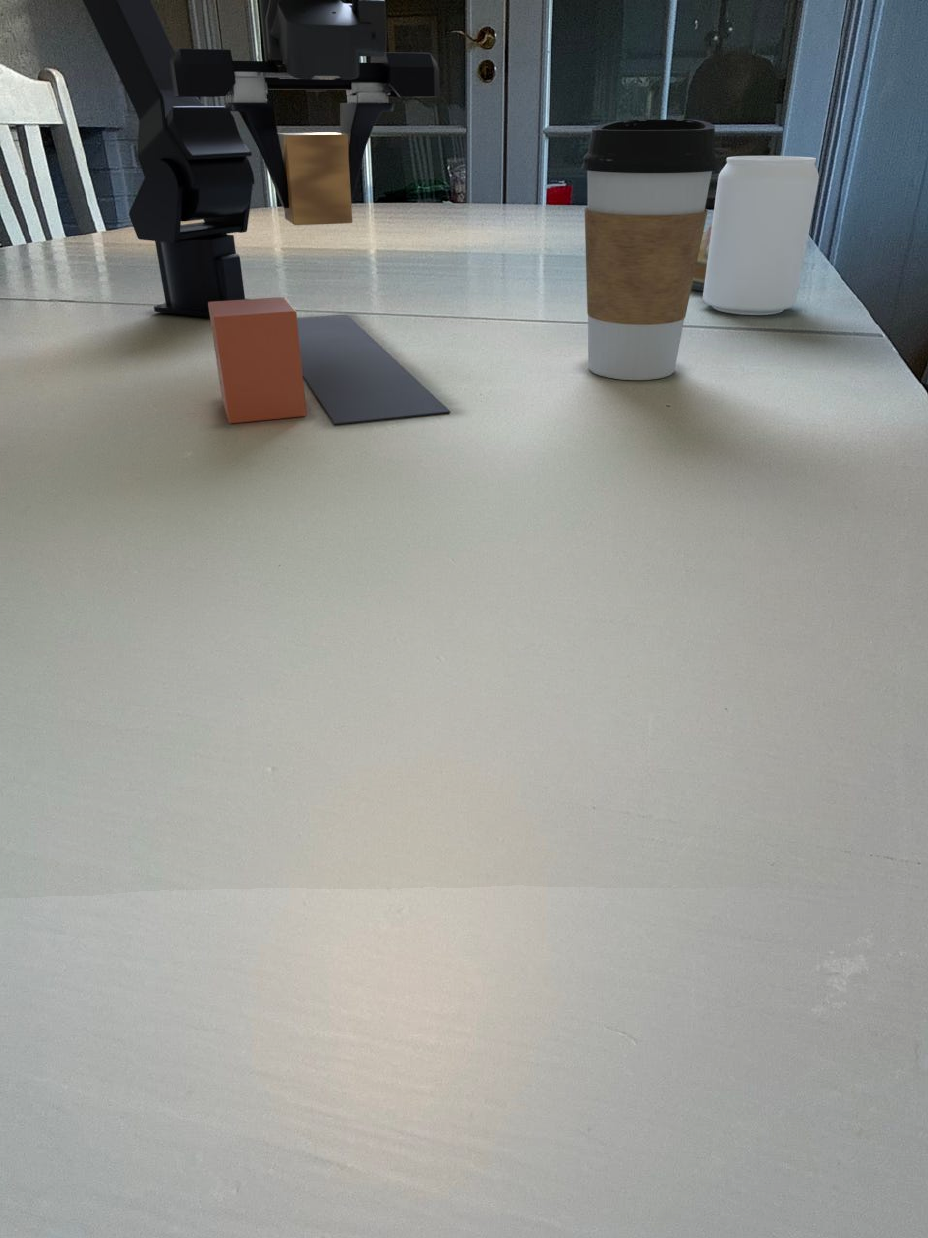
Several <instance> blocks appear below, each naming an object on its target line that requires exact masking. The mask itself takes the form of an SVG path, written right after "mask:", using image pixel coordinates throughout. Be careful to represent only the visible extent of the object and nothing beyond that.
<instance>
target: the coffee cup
mask: <svg viewBox="0 0 928 1238" xmlns="http://www.w3.org/2000/svg"><path fill="white" fill-rule="evenodd" d="M715 138H716V126H715V124H713V123H711V122H710V121H709V122H708V121H704V120H699V119H685V118H683V119H682V118H679V119H678V118H677V119H676V118H675V119H673V118H672V119H671V118H661V119H660V118H659V119H657V118H656V119H654V118H653V119H651V118H650V119H645V118H644V119H626V120H625V119H624V120H618V121H612V122H607V123H603V124H600V125H596V126H594V127H593V128H592V130H591V133H590V139H589V144H588V149H587V153H586V154H584V155H583V157H582V160H583V161H582V165H581V170H582V171H586V174H587V175H586V176H587V177H586V179H587V207H585V208H584V237H585V238H584V239H585V241H584V242H585V243H584V244H585V277H586V315H587V355H588V356H587V366H588V369H589V371H590V372H591V373H593V374H595V375H598V376H600V377H605V378H608V379H614V380H622V381H650V380H652V381H653V380H658V379H663V378H666V377H669V376H672V374H674V372H675V369H676V365H677V361H678V360H677V359H678V356H679V355H678V354H679V349H680V342H681V338H682V332H683V327H684V322H685V318H686V315H687V311H688V306H689V301H690V296H691V292H692V289H691V287H692V283H693V278H694V273H695V269H696V264H697V259H698V254H699V250H700V245H701V240H702V236H703V232H705V231H704V230H705V226H706V222H707V221H706V220H707V216H708V212H709V210H708V209H707V208H706V206H707V200H708V194H709V189H710V184H711V179H712V173H713V172H716V171H719V169H720V168H719V156H718V154H717V153H716V139H715Z"/></svg>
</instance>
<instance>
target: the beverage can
mask: <svg viewBox="0 0 928 1238" xmlns="http://www.w3.org/2000/svg"><path fill="white" fill-rule="evenodd" d="M725 161H726V164H725V165H724V167H723V168H722V169H721V170H720V172H719V173H718V177H717V182H716V183H717V184H716V185H717V186H716V190H715V192H716V193H715V198H714V199H715V200H714V206H713V207H714V208H713V215H712V222H711V224H712V230H711V237H710V245H709V253H708V261H707V268H706V276H705V284H704V291H702V300H703V302H704V303H706V304H707V305H709V306H711V307H712V308H713V309H714V310H717V311H718V312H723V313H727V314H733V315H744V316H746V315H747V316H770V315H777V314H780V313H782V312H784V310H787V309H791V308H793V307H794V306H795V305H796V304H797V301H798V297H799V291H800V286H801V279H802V273H803V269H804V263H805V256H806V253H807V246H808V240H809V235H810V230H811V224H812V219H813V213H814V208H815V202H816V197H817V192H818V185H819V179H820V175H819V171H818V169H817V167H816V165H815V163H816V162H817V158H816V157H811V156H795V155H794V156H793V155H738V156H737V155H735V156H728V157H726V160H725Z"/></svg>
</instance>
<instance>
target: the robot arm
mask: <svg viewBox="0 0 928 1238" xmlns="http://www.w3.org/2000/svg"><path fill="white" fill-rule="evenodd" d="M258 1H259V2H258V3H259V13H260V24H261V33H262V43H263V53H264V60H233V56H232V50H231V49H229V48H225V49H222V48H179V49H178V50H177V51H175V49H174V48H173V45H172V43H171V41H170V38H169V37H168V34H167V32H166V30H165V28H164V26H163V23H162V21H161V19H160V17H159V14H158V13H157V10H156V8H155V6H154V4H153V1H152V0H82V2H83V4H84V6H85V9H86V11H87V12H88V15H89V17H90V19H91V21H92V23H93V25H94V27H95V29H96V31H97V34H98V35H99V37H100V39H101V41H102V44H103V46H104V48H105V50H106V52H107V55H108V57H109V59H110V60H111V63H112V65H113V66H114V69H115V72H116V73H117V75H118V77H119V80H120V82H121V84H122V86H123V88H124V90H125V92H126V94H127V96H128V98H129V100H130V103H131V105H132V107H133V108H134V110H135V113H136V115H137V118H138V134H137V148H136V149H137V152H136V156H137V160H138V164H139V166H140V169H141V171H142V174H143V176H144V179H143V181H142V182H141V185H140V187H139V189H138V191H137V194H136V196H135V199H134V201H133V202H132V205H131V207H130V210H129V211H128V217H129V221H130V222H131V224H132V227H133V229H134V232H135V235H136V237H137V239H138V240H140V241H152V242H154V244H155V250H156V256H157V261H158V267H159V273H160V278H161V279H160V280H161V284H162V290H163V297H164V303H161V304H157V305H154V306H153V310H154V312H155V313H164V314H173V315H183V316H193V317H201V318H210V314H209V307H208V302H215V301H230V300H246V299H247V298H246V295H245V288H244V280H243V271H242V270H243V269H242V262H241V257H240V254H239V253H237V251H236V243H235V242H236V241H235V235H234V234H235V233H238V234H239V233H240V234H242V233H247V232H248V228H249V226H248V225H249V219H250V211H251V203H252V194H253V187H254V185H255V177H254V175H255V174H254V171H253V168H252V164H251V162H250V161H249V157H252V155H253V153H252V151H251V150H250V149H249V148H248V146H247V145H246V143H245V141H244V140H243V138H242V137H241V134H240V132H239V130H238V126H237V123H236V120H235V117H234V115H233V114H232V112H238V113H239V115H240V116H241V118H242V120H243V122H244V125H245V126H246V128H247V129H248V131H249V133H250V135H251V137H252V139H253V141H254V143H255V145H256V146H257V148H258V151H259V153H260V154H261V157H262V160H263V162H264V164H265V167H266V169H267V172H268V175H269V176H270V180H271V182H272V185H273V187H274V189H275V192H276V194H277V197H278V199H279V202H280V204H281V207H282V208H283V209H284V208H289V197H288V184H287V179H286V173H285V168H284V163H283V158H282V153H281V147H280V142H279V137H278V133H279V131H278V127H277V126H278V125H277V115H276V104H275V102H268V97H267V95H268V94H269V90H283V91H286V90H292V91H296V90H299V91H301V90H302V91H303V90H305V91H308V90H310V91H312V90H313V91H315V90H316V91H346V100H347V102H340V103H339V115H340V116H339V119H340V120H339V123H340V124H339V126H340V131H339V133H342V134H347V140H348V157H349V173H350V190H351V205H352V204H353V200H354V197H355V196H354V195H355V192H356V188H357V183H358V179H359V175H360V170H361V168H362V167H361V166H362V163H363V160H364V154H365V152H366V148H367V146H368V142H369V139H370V137H371V134H372V132H373V129H374V127H375V125H376V123H377V121H378V120H379V118H380V116H381V115H382V113H383V112H393V111H394V107H395V103H394V102H389V98H440V70H439V65H438V62H437V60H436V59H435V58H434V56H433V55H432V54H431V53H430V52H401V51H400V52H397V51H395V52H392V51H387V44H388V43H387V42H388V41H387V40H388V26H387V25H388V24H387V9H386V7H387V5H386V0H352V1H351V3H347V1H346V0H258ZM361 57H370V62H360V58H361ZM284 66H285V71H286V72H285V71H284V72H281V71H279V67H284ZM218 97H227V102H224V106H223V105H222V106H221V105H220V106H219V105H217V106H216V105H215V106H214V105H211V106H210V105H209V106H208V105H206V104H205V103H203V102H202V100H201V99H199V98H218ZM200 220H203V221H201V222H193V223H186V224H182V222H192V221H200Z"/></svg>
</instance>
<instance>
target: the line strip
mask: <svg viewBox="0 0 928 1238" xmlns="http://www.w3.org/2000/svg"><path fill="white" fill-rule="evenodd" d="M297 323H298V333H299V344H300V354H301V364H302V374H303V380H305V382H306V383H307V385H308V386H309V388H310V389H311V391H312V393H313V394H314V395H315V397H316V399H317V400H318V401H319V403H320V405H321V406H322V408H323V410H324V411H325V412H326V414H327V415H328V418H329V419H330V420H331V422H332V423H333V425H334V426H339V425H347V424H357V423H365V422H366V423H367V422H376V421H386V420H394V419H404V418H413V417H414V418H415V417H425V416H433V415H442V414H443V415H444V414H451V410H450V409H449V408H448V407H447V406H445V404H444V403H443V402H441V401H440V400H439V399H438V398H437V397H436V396H435V395H434V394H433V393H432V392H431V391H429V390H428V389H427V388H426V386H424V385H423V384H422V383H421V382H420V381H419V380H418V379H417V378H416V377H415V376H413V374H411V373H410V372H409V371H408V370H407V369H406V368H405V367H404V366H403V365H402V364H401V363H399V361H397V359H396V358H394V357H393V356H392V355H391V354H390V353H389V352H388V351H387V350H386V349H384V347H383V346H381V345H380V344H379V343H378V342H377V340H375V339H374V338H373V337H372V336H371V335H369V333H367V331H365V330H364V329H363V328H362V327H361V326H360V325H359V324H358V323H357V322H356V321H355V320H354V319H353V318H352V317H350V315H348V314H339V315H322V316H312V317H311V316H309V317H297Z"/></svg>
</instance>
